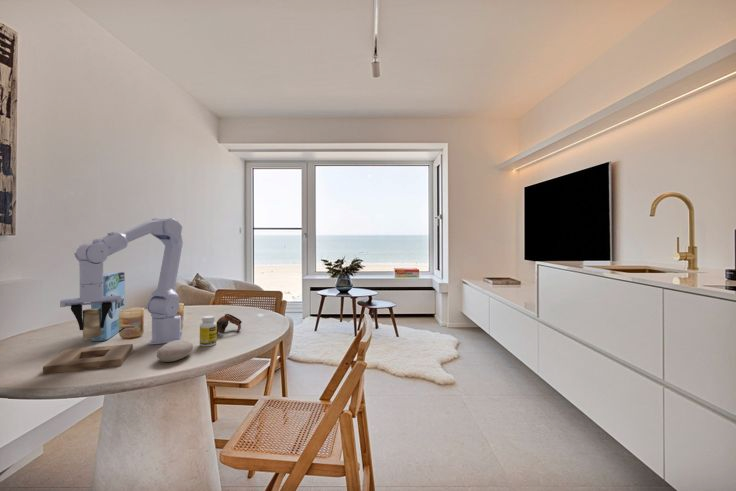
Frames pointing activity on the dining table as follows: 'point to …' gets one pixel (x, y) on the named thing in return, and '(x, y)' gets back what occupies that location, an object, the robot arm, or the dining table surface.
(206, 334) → the supplement bottle
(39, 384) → the dining table surface
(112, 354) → the carrier board
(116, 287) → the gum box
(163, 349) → the decorative stone
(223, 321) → the brown arch
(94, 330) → the beige wooden cylinder
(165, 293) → the robot arm
